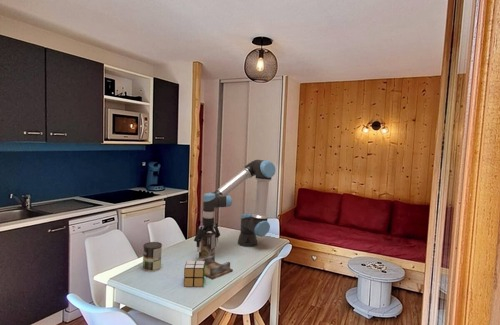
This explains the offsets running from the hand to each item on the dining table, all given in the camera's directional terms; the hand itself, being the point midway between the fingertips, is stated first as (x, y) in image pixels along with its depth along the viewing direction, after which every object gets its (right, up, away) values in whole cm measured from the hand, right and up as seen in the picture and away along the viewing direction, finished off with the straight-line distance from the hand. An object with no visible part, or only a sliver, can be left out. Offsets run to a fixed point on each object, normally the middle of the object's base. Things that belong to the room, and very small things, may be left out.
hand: (207, 249), depth 191 cm
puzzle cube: (-2, -8, -34) cm, 35 cm away
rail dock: (+6, -7, -18) cm, 21 cm away
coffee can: (-30, -6, -19) cm, 36 cm away
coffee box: (0, -6, 0) cm, 6 cm away
